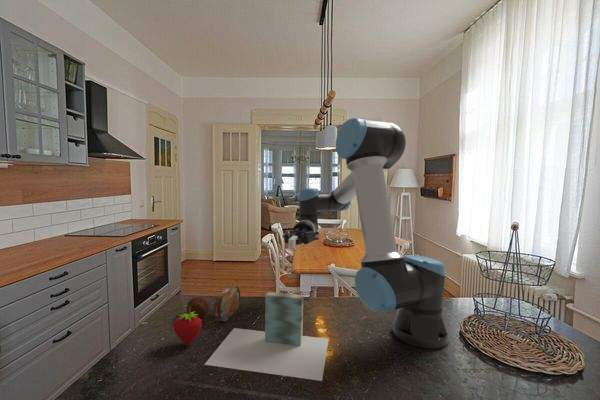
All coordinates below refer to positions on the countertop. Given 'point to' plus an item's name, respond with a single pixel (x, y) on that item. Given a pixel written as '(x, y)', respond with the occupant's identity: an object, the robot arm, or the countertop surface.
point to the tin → (227, 303)
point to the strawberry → (187, 327)
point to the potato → (198, 306)
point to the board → (284, 318)
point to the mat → (271, 355)
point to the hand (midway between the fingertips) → (291, 244)
